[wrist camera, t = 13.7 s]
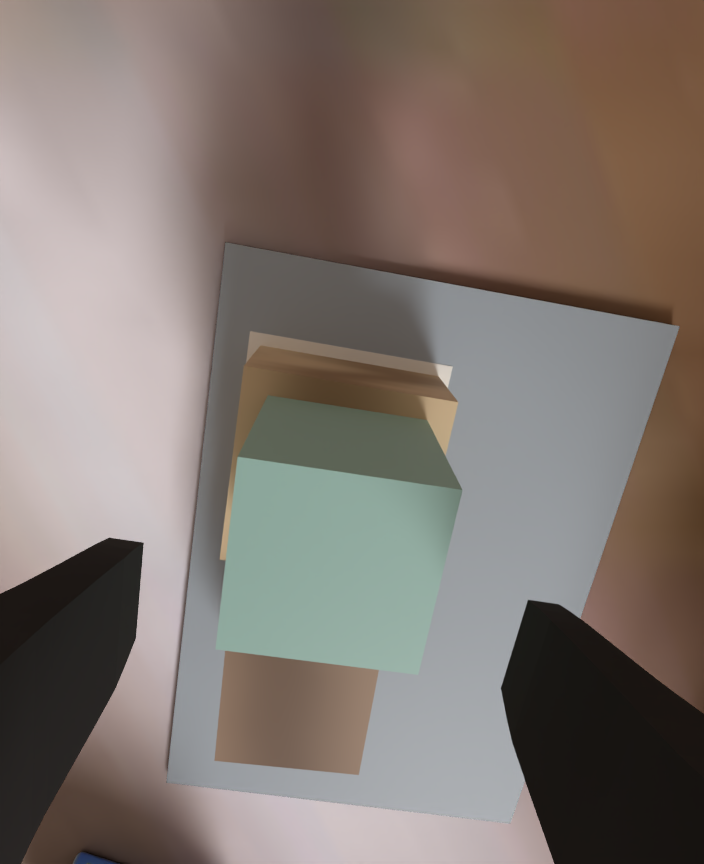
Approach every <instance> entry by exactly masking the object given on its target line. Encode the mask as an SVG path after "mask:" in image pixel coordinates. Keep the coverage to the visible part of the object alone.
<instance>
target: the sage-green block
mask: <svg viewBox="0 0 704 864" xmlns="http://www.w3.org/2000/svg"><path fill="white" fill-rule="evenodd" d="M461 495H462V488H461V486H460V484H459V482H458V480H457V478H456V476H455V474H454V472H453V470H452V468H451V466H450V464H449V462H448V460H447V458H446V456H445V454H444V452H443V450H442V448H441V446H440V444H439V442H438V440H437V438H436V436H435V434H434V432H433V430H432V428H431V426H430V424H429V422H428V420H424V419H417V418H411V417H404V416H398V415H392V414H385V413H379V412H372V411H366V410H359V409H353V408H347V407H340V406H334V405H327V404H321V403H315V402H308V401H302V400H295V399H289V398H282V397H276V396H270V395H268V396H267V398H266V400H265V402H264V404H263V406H262V408H261V410H260V412H259V414H258V416H257V418H256V420H255V422H254V424H253V426H252V428H251V430H250V433H249V435H248V437H247V439H246V441H245V443H244V445H243V447H242V449H241V451H240V453H239V455H238V457H237V466H236V475H235V484H234V492H233V501H232V510H231V518H230V527H229V536H228V544H227V553H226V562H225V570H224V579H223V588H222V596H221V605H220V614H219V622H218V631H217V640H216V650H224V651H232V652H240V653H248V654H256V655H264V656H272V657H280V658H288V659H295V660H303V661H311V662H319V663H327V664H335V665H343V666H351V667H359V668H367V669H375V670H383V671H391V672H399V673H407V674H414V675H418V674H419V670H420V666H421V661H422V657H423V653H424V649H425V645H426V641H427V636H428V632H429V628H430V624H431V620H432V616H433V611H434V607H435V603H436V599H437V595H438V591H439V586H440V582H441V578H442V574H443V570H444V565H445V561H446V557H447V553H448V549H449V545H450V540H451V536H452V532H453V528H454V524H455V520H456V515H457V511H458V507H459V503H460V499H461Z"/></svg>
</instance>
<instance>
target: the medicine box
mask: <svg viewBox="0 0 704 864" xmlns="http://www.w3.org/2000/svg"><path fill="white" fill-rule="evenodd" d="M73 864H119V863H116V862H113V861H110V860H107V859H104V858H101V857H98V856H94V855H91V854H88V853H85V852H80V853H78V855H77V856H76V858H75V860H74V862H73Z"/></svg>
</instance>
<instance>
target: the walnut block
mask: <svg viewBox="0 0 704 864" xmlns="http://www.w3.org/2000/svg"><path fill="white" fill-rule="evenodd" d="M378 672H379V670H375V669H367V668H359V667H351V666H343V665H335V664H327V663H319V662H311V661H303V660H295V659H288V658H280V657H272V656H264V655H256V654H248V653H240V652H232V651H225V657H224V667H223V678H222V688H221V698H220V708H219V718H218V729H217V739H216V749H215V759H214V761H221V762H231V763H241V764H251V765H262V766H272V767H282V768H292V769H302V770H312V771H323V772H333V773H343V774H353V775H359V771H360V766H361V761H362V756H363V750H364V745H365V740H366V735H367V730H368V724H369V719H370V714H371V709H372V703H373V698H374V693H375V688H376V683H377V677H378Z"/></svg>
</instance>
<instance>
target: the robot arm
mask: <svg viewBox="0 0 704 864" xmlns="http://www.w3.org/2000/svg"><path fill="white" fill-rule="evenodd" d="M142 555H143V543H141V542H134V541H127V540H121V539H114V538H108V539H106V540H104V541H101V542H99V543H97V544H95V545H94V546H92V547H90V548H88V549H86V550H84V551H82V552H80V553H79V554H77V555H75V556H73V557H71V558H69V559H67V560H66V561H64V562H62V563H60V564H58V565H56V566H54V567H53V568H51V569H49V570H47V571H45V572H43V573H41V574H39V575H37V576H35V577H34V578H32V579H30V580H28V581H26V582H24V583H22V584H20V585H18V586H16V587H14V588H12V589H10V590H8V591H5V592H3V593H1V594H0V864H21V862H22V860H23V858H24V856H25V854H26V851H27V849H28V847H29V845H30V843H31V840H32V839H33V837H34V835H35V833H36V831H37V829H38V827H39V825H40V823H41V821H42V819H43V817H44V815H45V813H46V811H47V810H48V808H49V806H50V804H51V802H52V801H53V799H54V797H55V795H56V794H57V792H58V790H59V788H60V787H61V785H62V783H63V781H64V779H65V778H66V776H67V774H68V772H69V771H70V769H71V767H72V765H73V763H74V762H75V760H76V758H77V756H78V755H79V753H80V751H81V749H82V748H83V746H84V744H85V742H86V740H87V739H88V737H89V735H90V733H91V732H92V730H93V728H94V726H95V724H96V723H97V721H98V719H99V717H100V715H101V714H102V712H103V710H104V708H105V706H106V705H107V703H108V701H109V699H110V697H111V696H112V694H113V692H114V690H115V688H116V686H117V683H118V681H119V678H120V676H121V674H122V671H123V669H124V667H125V664H126V662H127V659H128V656H129V654H130V651H131V649H132V646H133V644H134V641H135V639H136V628H137V616H138V604H139V591H140V579H141V567H142ZM501 692H502V697H503V702H504V707H505V713H506V718H507V722H508V727H509V731H510V735H511V740H512V743H513V746H514V749H515V752H516V755H517V758H518V761H519V764H520V767H521V770H522V773H523V776H524V779H525V782H526V784H527V787H528V790H529V793H530V796H531V799H532V801H533V804H534V807H535V810H536V813H537V816H538V818H539V821H540V824H541V827H542V830H543V833H544V835H545V838H546V841H547V844H548V847H549V850H550V852H551V855H552V858H553V861H554V864H704V714H703V713H702V712H700V711H699V710H697V709H696V708H695V707H693V706H692V705H691V704H689V703H688V702H686V701H685V700H684V699H682V698H681V697H680V696H678V695H677V694H675V693H674V692H673V691H672V690H670V689H669V688H668V687H666V686H665V685H664V684H662V683H661V682H660V681H658V680H657V679H656V678H654V677H653V676H652V675H651V674H649V673H648V672H647V671H645V670H644V669H643V668H642V667H640V666H639V665H638V664H637V663H635V662H634V661H633V660H632V659H630V658H629V657H628V656H627V655H625V654H624V653H623V652H622V651H620V650H619V649H618V648H617V647H615V646H614V645H613V644H612V643H610V642H609V641H608V640H607V639H605V638H604V637H603V636H602V635H600V634H599V633H598V632H597V631H595V630H594V629H593V628H592V627H590V626H589V625H588V624H586V623H585V622H584V621H582V620H581V619H580V618H578V617H577V616H576V615H574V614H573V613H572V612H570V611H569V610H567V609H566V608H564V607H563V606H561V605H559V604H554V603H547V602H541V601H534V600H528V601H527V605H526V608H525V611H524V614H523V618H522V621H521V624H520V627H519V631H518V634H517V637H516V640H515V644H514V647H513V650H512V653H511V657H510V660H509V663H508V666H507V670H506V673H505V676H504V680H503V683H502V686H501Z"/></svg>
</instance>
